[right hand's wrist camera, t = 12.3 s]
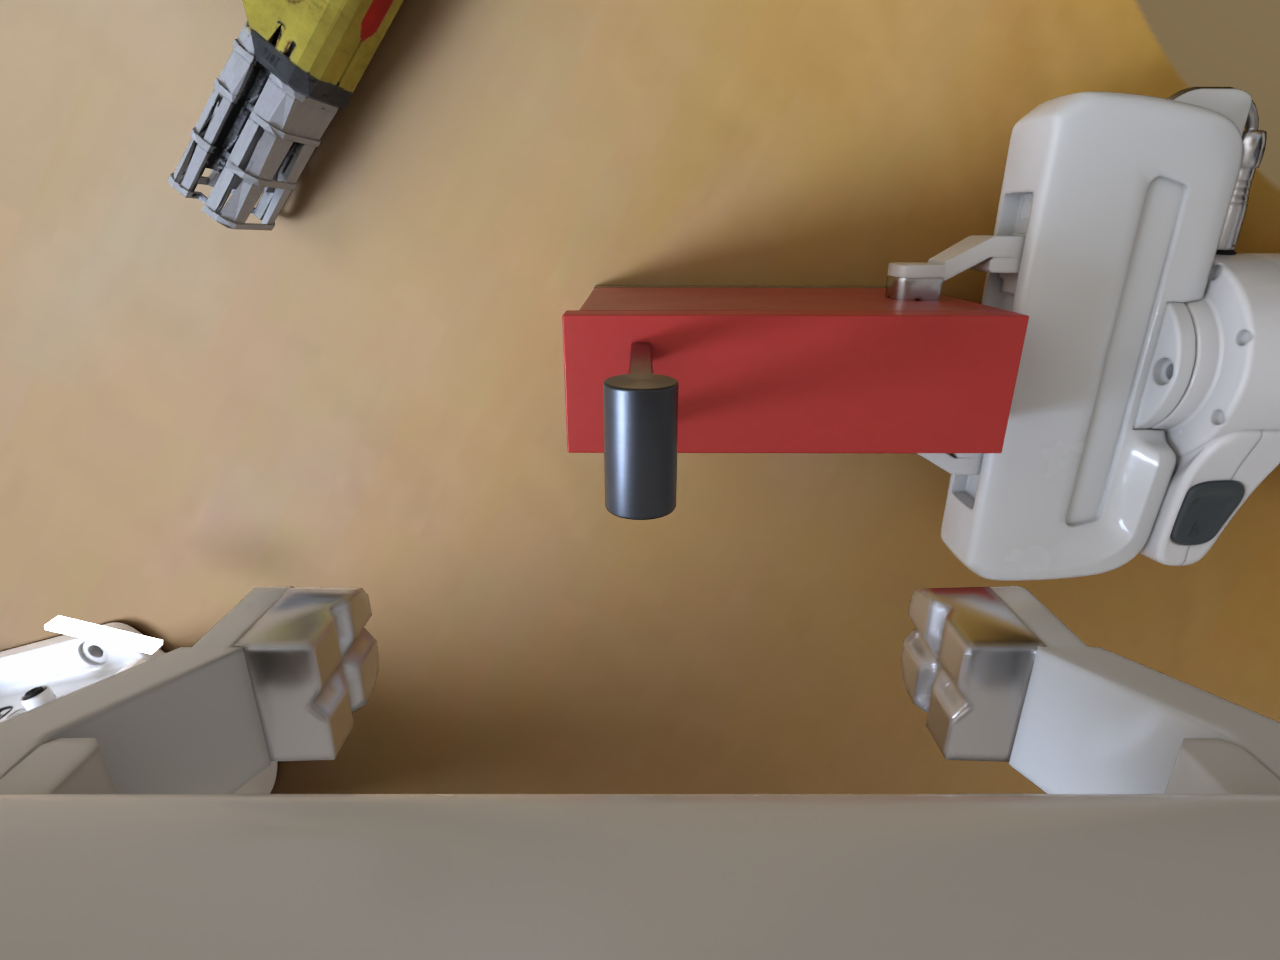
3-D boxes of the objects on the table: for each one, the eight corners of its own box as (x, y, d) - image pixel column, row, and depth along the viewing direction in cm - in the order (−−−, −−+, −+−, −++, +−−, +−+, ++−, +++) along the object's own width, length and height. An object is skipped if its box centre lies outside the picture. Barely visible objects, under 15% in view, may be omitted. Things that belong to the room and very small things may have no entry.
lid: (570, 443, 26) (537, 547, 18) (565, 310, 25) (526, 357, 16) (986, 443, 26) (1148, 548, 18) (1012, 311, 25) (1205, 358, 16)
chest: (597, 385, 36) (582, 442, 26) (595, 285, 34) (578, 309, 25) (897, 386, 36) (986, 443, 26) (911, 286, 34) (1012, 310, 25)
